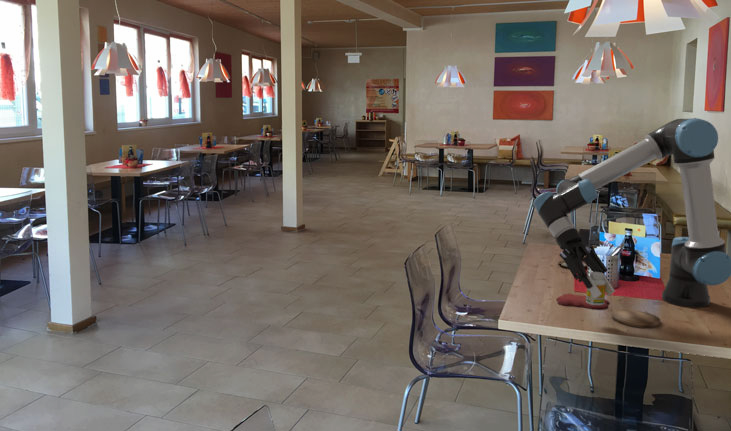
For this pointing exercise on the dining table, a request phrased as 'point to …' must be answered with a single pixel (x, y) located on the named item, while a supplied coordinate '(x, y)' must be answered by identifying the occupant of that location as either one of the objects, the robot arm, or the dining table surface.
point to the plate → (636, 318)
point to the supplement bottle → (600, 283)
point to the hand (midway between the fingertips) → (604, 294)
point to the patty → (579, 302)
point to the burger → (567, 266)
